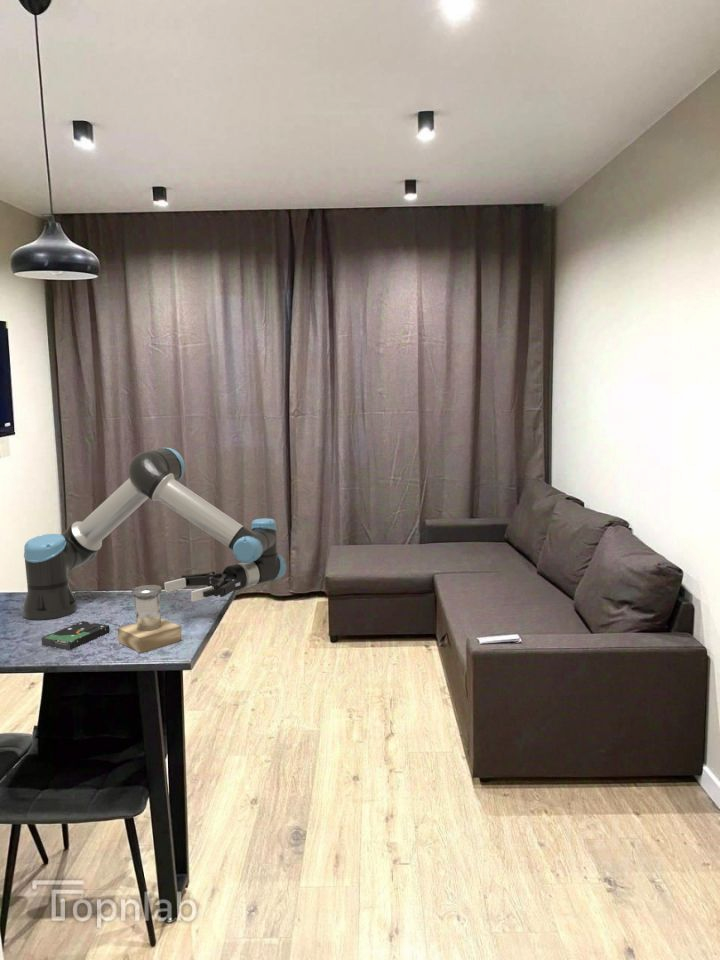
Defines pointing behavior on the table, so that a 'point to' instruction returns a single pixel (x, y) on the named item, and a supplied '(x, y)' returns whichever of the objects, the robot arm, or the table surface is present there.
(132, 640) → the stand
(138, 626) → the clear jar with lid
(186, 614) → the table surface
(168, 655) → the table surface
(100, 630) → the disk drive
